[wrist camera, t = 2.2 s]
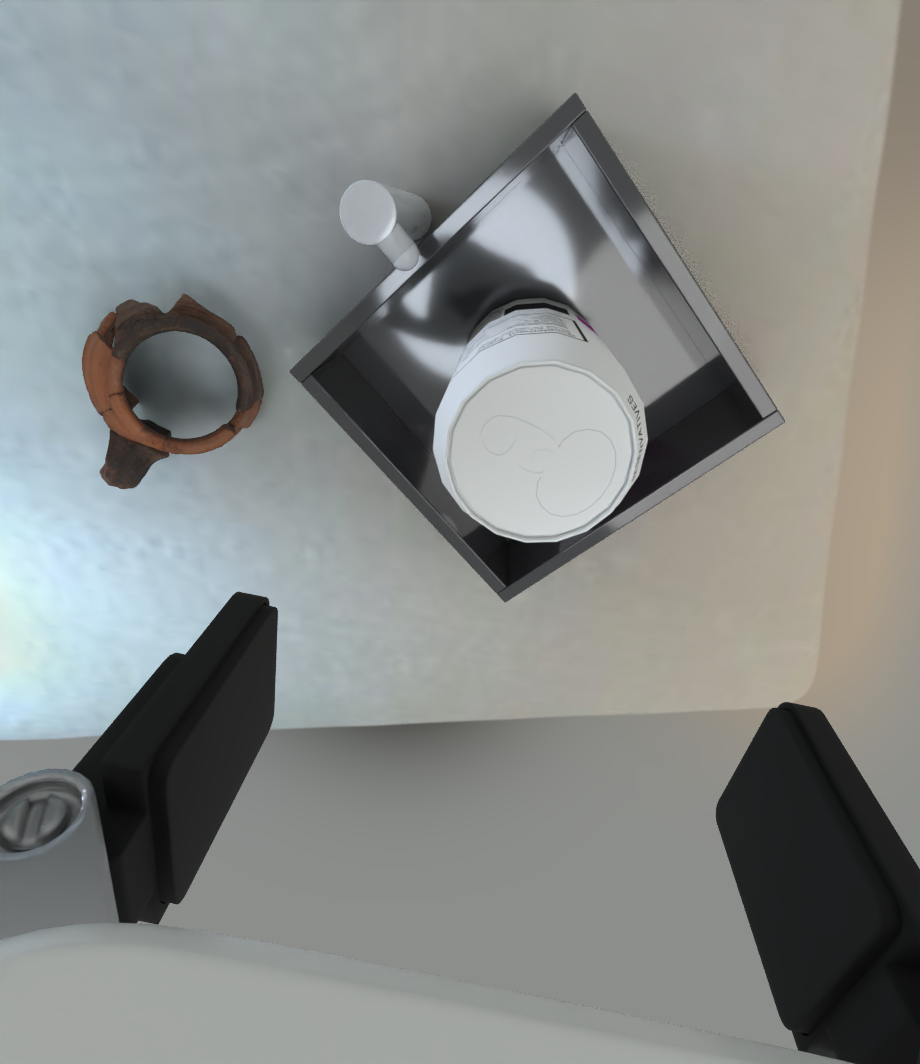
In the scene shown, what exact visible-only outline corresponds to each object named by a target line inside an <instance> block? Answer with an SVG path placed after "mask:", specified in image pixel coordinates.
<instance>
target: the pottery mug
mask: <svg viewBox="0 0 920 1064" xmlns="http://www.w3.org/2000/svg"><path fill="white" fill-rule="evenodd" d="M170 331H180V332H187V333H191V334H194V335H198V336H200V337H202V338H204V339H206V340H208V341H209V342H211V343H212V344H213V345H215V346H216V347H217V348H218V349H219V350H220V351H221V352H222V353H223V354H224V356H225V357H226V358H227V359H228V361H229V363H230V364H231V366H232V368H233V370H234V373H235V376H236V379H237V385H238V398H237V403H236V410H237V411H236V413H235V415H234V417H233V418H232V419H231V420H230V421H229V423H228V424H224V425H222V426H221V427H220V428H219V429H217V430H215V431H214V432H212V433H210V434H208V435H205V436H202V437H198V438H190V439H180V438H174V437H171V432H170V430H168V429H165V428H163V427H161V426H159V425H157V424H155V423H154V422H152V421H150V420H141V419H139V418H138V417H137V416H136V415H135V413H134V412H133V407H135V406H136V405H137V404H138V403H139V400H138V399H137V398H136V397H135V396H134V395H133V394H132V393H130V392H129V391H128V390H127V388H126V387H125V386H124V385H123V375H124V369H125V366H126V363H127V358H128V357H129V355H130V354H131V352H132V351H133V350H134V349H135V348H136V346H137V345H139V344H140V343H141V342H142V341H144V340H145V339H147V338H149V337H151V336H154V335H156V334H159V333H164V332H170ZM114 336H115V342H114V347H112V343H113V339H114ZM82 369H83V376H84V380H85V384H86V388H87V390H88V392H89V396H90V399H91V401H92V403H93V405H94V407H95V408H96V410H97V412H98V413H99V414H100V415H101V416H103V418H104V421H105V422H106V424H107V425H108V427H109V428H110V439H109V446H108V450H107V454H106V459H105V464H104V466H103V467H102V468H101V470H100V474H101V477H102V478H103V479H104V480H105V482H106V483H107V484H108V485H110V486H115V487H118V488H120V489H128V488H134V487H136V486H137V485H138V484H139V483H140V481H141V480H142V478H143V477H144V476H145V475H146V473H147V471H148V470H149V468H150V467H151V465H152V464H153V463H155V462H156V461H158V460H160V459H164V458H167V457H169V453H171V454H200V453H205V452H208V451H212V450H214V449H216V448H219V447H222V446H223V445H224V444H226V443H227V442H228V441H230V440H231V439H232V438H233V437H234V436H235V435H237V434H238V433H239V432H240V430H241V429H242V428H248V427H249V426H250V425H251V424H252V422H253V421H254V419H255V417H256V415H257V413H258V411H259V408H260V405H261V402H262V400H261V399H262V397H263V393H264V390H263V384H262V378H261V375H260V370H259V367H258V364H257V361H256V359H255V356H254V354H253V352H252V350H251V349H250V347H249V345H248V343H247V341H246V340H245V338H244V337H243V336H236V333H235V329H234V328H233V326H232V325H231V324H229V323H228V322H227V321H225V320H224V319H222V318H220V317H219V316H217V315H215V314H214V313H211V312H210V311H208V310H207V309H205V308H204V307H202V306H201V305H200V304H198V303H197V302H196V301H195V300H194V299H192V298H191V297H189V296H188V295H186V294H183V295H182V297H181V298H180V299H179V300H178V301H177V302H176V304H175V305H174V307H173V308H172V309H171V310H170V311H169V312H168V313H163V312H161V311H160V309H159V308H158V307H156V306H153V305H151V304H149V303H138V302H137V301H135V300H132V299H131V300H128V301H126V302H124V303H122V304H120V305H119V306H117V307H116V313H115V312H111V313H109V314H108V315H107V316H106V317H105V318H104V319H103V321H102V322H101V324H100V326H99V328H98V330H97V331H95V332H93V333H92V334H90V335H89V336H88V338H87V341H86V344H85V347H84V351H83V357H82ZM168 452H169V453H168Z"/></svg>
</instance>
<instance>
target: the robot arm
mask: <svg viewBox="0 0 920 1064" xmlns="http://www.w3.org/2000/svg"><path fill="white" fill-rule="evenodd" d="M277 622H278V610H277V608H276V607H272V606H269V600H268V598H267V597H262V596H257V595H252V594H247V593H242V592H236V593H235V594H234V595H233V596H232V597H231V598H230V599H229V601H228V602H227V603H226V604H225V606H224V607H223V608H222V609H221V611H220V612H219V613H218V614H217V616H216V617H215V618H214V619H213V621H212V622H211V623H210V625H209V626H208V627H207V628H206V630H205V631H204V632H203V633H202V635H201V636H200V637H199V638H198V640H197V641H196V642H195V643H194V645H193V646H192V647H191V648H190V650H189V651H188V652H187V653H186V655H185V654H180V653H174V654H172V655H170V656H169V657H168V658H167V659H166V660H165V661H164V662H163V663H162V664H161V665H160V666H159V668H158V669H157V670H156V671H155V672H154V674H153V675H152V676H151V677H150V678H149V680H148V681H147V682H146V683H145V684H144V686H143V687H142V688H141V689H140V690H139V692H138V693H137V694H136V695H135V696H134V698H133V699H132V700H131V701H130V702H129V704H128V705H127V706H126V707H125V708H124V709H123V711H122V712H121V713H120V714H119V715H118V717H117V718H116V719H115V720H114V721H113V723H112V724H111V725H110V726H109V727H108V729H107V730H106V731H105V732H104V733H103V735H102V736H101V737H100V738H99V739H98V741H97V742H96V743H95V744H94V745H93V747H92V748H91V749H90V750H89V751H88V753H87V754H86V755H85V756H84V757H83V758H82V760H81V761H80V762H79V763H78V764H77V766H76V767H75V768H74V769H73V770H72V771H71V770H67V769H45V770H40V771H36V772H31V773H27V774H25V775H23V776H20V777H17V778H15V779H13V780H10V781H8V782H7V783H5V784H4V785H2V786H1V787H0V1064H920V869H919V867H918V866H917V864H916V863H915V861H914V859H913V858H912V856H911V855H910V853H909V851H908V850H907V848H906V846H905V845H904V844H903V842H902V840H901V838H900V837H899V835H898V833H897V832H896V830H895V829H894V827H893V825H892V824H891V822H890V820H889V819H888V817H887V816H886V814H885V812H884V811H883V809H882V808H881V806H880V804H879V803H878V801H877V799H876V798H875V796H874V795H873V793H872V791H871V790H870V788H869V786H868V785H867V783H866V782H865V780H864V778H863V777H862V775H861V773H860V772H859V770H858V769H857V767H856V765H855V764H854V762H853V761H852V759H851V757H850V756H849V754H848V752H847V751H846V749H845V748H844V746H843V745H842V743H841V741H840V739H839V738H838V736H837V735H836V733H835V732H834V730H833V728H832V727H831V725H830V723H829V722H828V720H827V718H826V717H825V715H824V714H823V713H822V712H821V710H819V709H817V708H814V707H809V706H804V705H799V704H794V703H789V702H784V703H782V704H780V705H779V707H778V708H772V709H770V710H769V712H768V713H767V715H766V717H765V718H764V720H763V722H762V724H761V726H760V727H759V729H758V731H757V733H756V735H755V737H754V738H753V740H752V742H751V744H750V746H749V747H748V749H747V751H746V753H745V754H744V756H743V758H742V760H741V762H740V764H739V765H738V767H737V769H736V771H735V772H734V774H733V776H732V778H731V779H730V781H729V783H728V785H727V787H726V789H725V790H724V792H723V794H722V796H721V797H720V799H719V801H718V804H717V808H716V821H717V825H718V828H719V831H720V834H721V837H722V840H723V843H724V846H725V849H726V852H727V856H728V859H729V862H730V865H731V868H732V871H733V874H734V877H735V880H736V883H737V887H738V890H739V893H740V896H741V899H742V902H743V905H744V908H745V911H746V914H747V917H748V921H749V924H750V927H751V930H752V933H753V936H754V939H755V942H756V945H757V948H758V951H759V955H760V957H761V961H762V964H763V967H764V970H765V973H766V976H767V979H768V982H769V985H770V988H771V992H772V995H773V998H774V1001H775V1004H776V1007H777V1010H778V1013H779V1016H780V1018H781V1021H782V1023H783V1024H784V1026H785V1027H786V1028H787V1029H788V1030H792V1033H793V1036H794V1039H795V1042H796V1045H797V1048H798V1050H793V1049H788V1048H783V1047H779V1046H774V1045H769V1044H764V1043H759V1042H755V1041H750V1040H745V1039H740V1038H736V1037H731V1036H726V1035H722V1034H717V1033H712V1032H708V1031H703V1030H698V1029H693V1028H689V1027H684V1026H679V1025H675V1024H670V1023H665V1022H660V1021H656V1020H651V1019H646V1018H641V1017H637V1016H632V1015H627V1014H622V1013H617V1012H612V1011H607V1010H603V1009H598V1008H593V1007H588V1006H583V1005H578V1004H574V1003H569V1002H564V1001H559V1000H554V999H549V998H544V997H540V996H535V995H530V994H524V993H519V992H515V991H510V990H505V989H500V988H496V987H490V986H485V985H481V984H475V983H471V982H466V981H461V980H456V979H451V978H446V977H441V976H436V975H431V974H426V973H421V972H416V971H411V970H406V969H401V968H396V967H391V966H386V965H381V964H376V963H371V962H366V961H361V960H356V959H351V958H346V957H341V956H336V955H331V954H326V953H321V952H316V951H311V950H306V949H301V948H295V947H290V946H284V945H279V944H273V943H267V942H262V941H256V940H251V939H245V938H240V937H234V936H229V935H223V934H218V933H212V932H207V931H201V930H193V929H184V928H177V927H169V926H161V925H153V924H159V922H160V920H161V918H162V916H163V914H164V913H165V911H166V909H167V907H168V905H169V903H173V904H179V903H180V902H181V901H182V899H183V898H184V896H185V895H186V893H187V891H188V889H189V887H190V885H191V883H192V881H193V879H194V877H195V875H196V873H197V871H198V869H199V867H200V865H201V864H202V862H203V859H204V858H205V856H206V854H207V852H208V850H209V848H210V846H211V844H212V842H213V840H214V838H215V836H216V834H217V832H218V830H219V828H220V826H221V824H222V822H223V820H224V818H225V816H226V814H227V812H228V811H229V809H230V807H231V805H232V803H233V800H234V799H235V797H236V795H237V793H238V791H239V789H240V787H241V785H242V783H243V781H244V779H245V777H246V775H247V773H248V771H249V769H250V767H251V766H252V764H253V762H254V760H255V758H256V756H257V754H258V752H259V750H260V748H261V746H262V744H263V742H264V740H265V738H266V736H267V734H268V732H269V730H270V727H271V724H272V721H273V716H274V703H275V676H276V649H277ZM138 921H143V922H148V923H153V924H136V923H137V922H138Z"/></svg>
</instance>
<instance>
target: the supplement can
mask: <svg viewBox="0 0 920 1064" xmlns="http://www.w3.org/2000/svg"><path fill="white" fill-rule="evenodd" d="M647 442H648V437H647V428H646V420H645V412H644V404H643V402H642V400H641V398H640V397H639V395H638V393H637V391H636V389H635V388H634V386H633V384H632V382H631V380H630V379H629V377H628V375H627V373H626V371H625V370H624V369H623V367H622V366H621V365H620V363H619V362H618V361H617V359H616V358H615V357H614V355H613V354H612V353H611V352H610V350H609V349H608V348H607V346H606V345H605V344H604V342H603V341H602V340H601V338H600V337H599V336H598V334H597V333H596V332H595V331H594V329H593V328H592V327H591V325H590V324H589V323H588V322H587V321H586V320H585V319H584V318H583V317H581V316H580V315H579V314H578V313H576V312H575V311H574V310H573V309H571V308H570V307H569V306H568V305H564V304H561V303H558V302H555V301H552V300H548V299H545V298H532V299H518V300H515V301H512V302H510V303H508V304H506V305H504V306H502V307H499V308H497V309H495V310H493V311H492V312H491V313H490V314H489V315H488V316H487V317H486V318H485V319H484V320H483V321H482V322H481V323H480V324H479V325H478V326H477V327H476V328H475V329H474V330H473V332H472V334H471V336H470V338H469V340H468V342H467V345H466V347H465V349H464V351H463V353H462V355H461V358H460V360H459V362H458V365H457V367H456V369H455V371H454V374H453V376H452V378H451V381H450V383H449V385H448V387H447V390H446V392H445V394H444V397H443V399H442V401H441V403H440V406H439V408H438V410H437V413H436V417H435V430H434V442H433V452H434V456H435V459H436V463H437V466H438V470H439V473H440V477H441V480H442V483H443V484H444V486H445V487H446V489H447V490H448V491H449V493H450V494H451V495H452V497H453V498H454V500H455V501H456V502H457V504H458V505H459V506H460V508H461V509H462V510H463V511H464V512H466V513H467V514H469V515H470V517H472V518H473V519H475V520H476V521H478V522H479V523H480V524H482V525H483V526H485V527H486V528H488V529H489V530H491V531H492V532H493V533H495V534H497V535H501V536H504V537H508V538H511V539H515V540H518V541H522V542H525V543H529V542H558V541H560V540H563V539H566V538H569V537H572V536H575V535H578V534H581V533H584V532H586V531H588V530H589V529H591V528H592V527H593V526H595V525H596V524H597V523H599V522H600V521H601V520H603V519H604V518H605V517H607V516H608V515H609V514H611V513H612V512H613V511H614V509H615V508H616V507H617V506H618V505H619V504H620V502H621V501H622V499H623V498H624V496H625V495H626V494H627V492H628V491H629V489H630V488H631V486H632V485H633V483H634V482H635V480H636V479H637V477H638V476H639V473H640V469H641V465H642V461H643V458H644V454H645V450H646V446H647Z"/></svg>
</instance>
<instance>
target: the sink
mask: <svg viewBox="0 0 920 1064" xmlns="http://www.w3.org/2000/svg"><path fill="white" fill-rule="evenodd" d="M579 170H580V171H579ZM531 171H532V172H531ZM581 173H582V174H581ZM583 176H584V177H583ZM585 179H586V180H585ZM587 182H588V183H587ZM589 185H590V186H589ZM591 188H592V189H591ZM511 190H512V191H511ZM593 191H594V192H593ZM595 194H596V195H595ZM597 197H598V198H597ZM491 209H492V210H491ZM339 211H340V219H341V222H342V225H343V227H344V229H345V231H346V232H347V233H348V235H349V236H350V237H351V238H352V239H354V240H355V241H357V242H359V243H361V244H364V245H377V246H378V247H379V249H380V250H381V251H382V252H383V254H384V255H385V256H386V257H387V259H388V260H389V261H390V262H391V263H392V265H393V266H394V267H395V269H394V270H392V271H391V272H390V273H389V274H388V275H387V276H386V277H385V278H384V279H383V280H382V281H381V282H380V283H379V284H378V285H377V286H376V287H375V288H374V289H373V290H372V291H371V292H370V293H369V294H368V295H367V296H366V297H365V298H364V299H363V300H362V301H361V302H360V303H359V304H358V305H357V306H356V307H355V308H354V309H353V310H352V311H350V312H349V313H348V314H347V315H346V316H345V317H344V318H343V319H342V320H341V321H340V322H339V323H338V324H337V325H336V326H335V327H334V328H333V329H332V330H331V331H330V332H329V333H328V334H327V335H326V336H325V337H324V338H323V339H322V340H321V341H320V342H319V343H318V344H317V345H316V346H315V347H314V348H313V349H312V350H311V351H310V352H308V353H307V354H306V355H305V356H304V357H303V358H302V359H301V360H300V361H299V362H298V363H297V364H296V365H295V366H294V367H293V368H292V369H291V370H290V373H291V374H292V375H293V376H294V377H295V378H296V379H297V380H298V381H299V382H300V383H301V384H302V386H303V387H304V388H305V389H306V390H307V391H308V392H309V393H310V394H311V395H312V396H313V397H314V398H315V399H316V401H317V402H318V403H319V404H320V405H321V406H322V407H323V408H324V409H325V410H326V411H327V412H328V413H329V414H330V416H331V417H332V418H333V419H334V420H335V421H336V422H337V423H338V424H339V425H340V426H341V427H342V428H343V429H344V431H345V432H346V433H347V434H348V435H349V436H350V437H351V438H352V439H353V440H354V441H355V442H356V443H357V444H358V446H359V447H360V448H361V449H362V450H363V451H364V452H365V453H366V454H367V455H368V456H369V457H370V458H371V459H372V461H373V462H374V463H375V464H376V465H377V466H378V467H379V468H380V469H381V470H382V471H383V472H384V473H385V474H386V476H387V477H388V478H389V479H390V480H391V481H392V482H393V483H394V484H395V485H396V486H397V487H398V488H399V489H400V491H401V492H402V493H403V494H404V495H405V496H406V497H407V498H408V499H409V500H410V501H411V502H412V503H413V504H414V506H415V507H416V508H417V509H418V510H419V511H420V512H421V513H422V514H423V515H424V516H425V517H426V518H427V519H428V521H429V522H430V523H431V524H432V525H433V526H434V527H435V528H436V529H437V530H438V531H439V532H440V533H441V534H442V536H443V537H444V538H445V539H446V540H447V541H448V542H449V543H450V544H451V545H452V546H453V547H454V548H455V549H456V551H457V552H458V553H459V554H460V555H461V556H462V557H463V558H464V559H465V560H466V561H467V562H468V563H469V564H470V566H471V567H472V568H473V569H474V570H475V571H476V572H477V573H478V574H479V575H480V576H481V577H482V578H483V580H484V581H485V582H486V583H487V584H488V585H489V586H490V587H491V588H492V589H493V590H494V591H495V592H496V593H497V595H498V596H499V597H500V598H501V599H502V600H503V601H504V602H507V601H508V600H510V599H512V598H513V597H515V596H516V595H518V594H519V593H521V592H522V591H524V590H525V589H527V588H529V587H530V586H532V585H533V584H535V583H536V582H538V581H539V580H541V579H543V578H544V577H546V576H547V575H549V574H550V573H552V572H553V571H555V570H556V569H558V568H560V567H561V566H563V565H564V564H566V563H567V562H569V561H570V560H572V559H574V558H575V557H577V556H578V555H580V554H581V553H583V552H584V551H586V550H588V549H589V548H591V547H592V546H594V545H595V544H597V543H598V542H600V541H601V540H603V539H605V538H606V537H608V536H609V535H611V534H612V533H614V532H615V531H617V530H619V529H620V528H622V527H623V526H625V525H626V524H628V523H629V522H631V521H632V520H634V519H636V518H637V517H639V516H640V515H642V514H643V513H645V512H646V511H648V510H650V509H651V508H653V507H654V506H656V505H657V504H659V503H660V502H662V501H663V500H665V499H667V498H668V497H670V496H671V495H673V494H674V493H676V492H677V491H679V490H681V489H682V488H684V487H685V486H687V485H688V484H690V483H691V482H693V481H694V480H696V479H698V478H699V477H701V476H702V475H704V474H705V473H707V472H708V471H710V470H712V469H713V468H715V467H716V466H718V465H719V464H721V463H722V462H724V461H725V460H727V459H729V458H730V457H732V456H733V455H735V454H736V453H738V452H739V451H741V450H743V449H744V448H746V447H747V446H749V445H750V444H752V443H753V442H755V441H756V440H758V439H760V438H761V437H763V436H764V435H766V434H767V433H769V432H770V431H772V430H774V429H775V428H777V427H778V426H780V425H781V424H783V423H784V422H785V420H784V418H783V417H782V415H781V413H780V412H779V410H777V407H776V406H775V404H774V402H773V401H772V399H771V398H770V396H769V395H768V393H767V391H766V390H765V388H764V387H763V385H762V384H761V382H760V380H759V379H758V377H757V376H756V374H755V373H754V371H753V369H752V368H751V366H750V365H749V363H748V362H747V360H746V358H745V357H744V355H743V354H742V352H741V351H740V349H739V347H738V346H737V344H736V343H735V341H734V340H733V338H732V337H731V335H730V333H729V332H728V330H727V329H726V327H725V326H724V324H723V322H722V321H721V319H720V318H719V316H718V315H717V313H716V311H715V310H714V308H713V307H712V305H711V304H710V302H709V300H708V299H707V297H706V296H705V294H704V293H703V291H702V289H701V288H700V286H699V285H698V283H697V282H696V280H695V278H694V277H693V275H692V274H691V272H690V271H689V269H688V267H687V266H686V264H685V263H684V261H683V260H682V258H681V256H680V255H679V253H678V252H677V250H676V249H675V247H674V245H673V244H672V242H671V241H670V239H669V238H668V236H667V234H666V233H665V231H664V230H663V228H662V227H661V225H660V224H659V222H658V220H657V219H656V217H655V216H654V214H653V213H652V211H651V209H650V208H649V206H648V205H647V203H646V202H645V200H644V198H643V197H642V195H641V194H640V192H639V191H638V189H637V187H636V186H635V184H634V183H633V181H632V180H631V178H630V176H629V175H628V173H627V172H626V170H625V169H624V167H623V165H622V164H621V162H620V161H619V159H618V158H617V156H616V154H615V153H614V151H613V150H612V148H611V147H610V145H609V143H608V142H607V140H606V139H605V137H604V136H603V134H602V132H601V131H600V129H599V128H598V126H597V125H596V123H595V121H594V120H593V118H592V117H591V115H590V114H589V112H588V111H586V107H585V106H584V104H583V103H582V101H581V100H580V98H579V96H578V95H577V93H574V94H573V95H572V96H571V97H570V98H569V99H568V100H567V101H566V102H565V103H564V104H563V105H561V106H560V107H559V108H558V109H557V110H556V111H555V112H554V113H553V114H552V115H551V116H550V117H549V118H548V119H547V120H546V121H545V122H544V123H543V124H542V125H541V126H540V127H539V128H538V129H537V130H536V131H535V132H534V133H533V134H532V135H531V136H530V137H529V138H528V139H527V140H526V141H525V142H524V143H523V144H522V145H521V146H519V147H518V148H517V149H516V150H515V151H514V152H513V153H512V154H511V155H510V156H509V157H508V158H507V159H506V160H505V161H504V162H503V163H502V164H501V165H500V166H499V167H498V168H497V169H496V170H495V171H494V172H493V173H492V174H491V175H490V176H489V177H488V178H487V179H486V180H485V181H484V182H483V183H482V184H481V185H480V186H479V187H477V188H476V189H475V190H474V191H473V192H472V193H471V194H470V195H469V196H468V197H467V198H466V199H465V200H464V201H463V202H462V203H461V204H460V205H459V206H458V207H457V208H456V209H455V210H454V211H453V212H452V213H451V214H450V215H449V216H448V217H447V218H446V219H445V220H444V221H443V222H442V223H441V224H440V225H439V226H438V227H437V228H436V229H434V230H433V231H432V232H431V233H430V234H429V235H428V236H427V237H426V238H425V239H424V240H423V241H422V242H421V243H420V244H419V245H418V246H416V244H415V243H414V241H413V240H417V239H420V238H421V237H423V236H424V235H425V234H426V233H427V232H428V230H429V228H430V225H431V220H432V216H431V210H430V207H429V205H428V204H427V202H426V201H425V200H424V199H423V198H422V197H420V196H418V195H415V194H412V193H409V192H406V191H403V190H400V189H397V188H394V187H391V186H388V185H385V184H382V183H379V182H376V181H373V180H359V181H356V182H354V183H353V184H351V185H350V186H349V187H348V188H347V189H346V190H345V192H344V194H343V196H342V198H341V202H340V210H339ZM452 246H453V247H452ZM432 265H433V266H432ZM644 268H645V269H644ZM646 271H647V272H646ZM648 274H649V275H648ZM650 277H651V278H650ZM652 280H653V281H652ZM654 283H655V284H654ZM656 286H657V287H656ZM658 289H659V290H658ZM660 292H661V293H660ZM532 298H545V299H548V300H552V301H555V302H558V303H561V304H564V305H568V306H569V307H570V308H571V309H573V310H574V311H575V312H576V313H578V314H579V315H580V316H581V317H583V318H584V319H585V320H586V321H587V322H588V323H589V324H590V325H591V327H592V328H593V329H594V331H595V332H596V333H597V334H598V336H599V337H600V338H601V340H602V341H603V342H604V344H605V345H606V346H607V348H608V349H609V350H610V352H611V353H612V354H613V355H614V357H615V358H616V359H617V361H618V362H619V363H620V365H621V366H622V367H623V369H624V370H625V371H626V373H627V375H628V377H629V379H630V380H631V382H632V384H633V386H634V388H635V389H636V391H637V393H638V395H639V397H640V398H641V400H642V402H643V404H644V412H645V420H646V428H647V437H648V442H647V446H646V450H645V454H644V458H643V461H642V465H641V469H640V473H639V476H638V477H637V479H636V480H635V482H634V483H633V485H632V486H631V488H630V489H629V491H628V492H627V494H626V495H625V496H624V498H623V499H622V501H621V502H620V504H619V505H618V506H617V507H616V508H615V509H614V511H613V512H612V513H611V514H609V515H608V516H607V517H605V518H604V519H603V520H601V521H600V522H599V523H597V524H596V525H595V526H593V527H592V528H591V529H589V530H588V531H586V532H584V533H581V534H578V535H575V536H572V537H569V538H566V539H563V540H560V541H558V542H529V543H525V542H522V541H518V540H515V539H511V538H508V537H504V536H501V535H497V534H495V533H493V532H492V531H491V530H489V529H488V528H486V527H485V526H483V525H482V524H480V523H479V522H478V521H476V520H475V519H473V518H472V517H470V515H469V514H467V513H466V512H464V511H463V510H462V509H461V508H460V506H459V505H458V504H457V502H456V501H455V500H454V498H453V497H452V495H451V494H450V493H449V491H448V490H447V489H446V487H445V486H444V484H443V483H442V480H441V477H440V473H439V470H438V466H437V463H436V459H435V456H434V452H433V442H434V430H435V417H436V413H437V410H438V408H439V406H440V403H441V401H442V399H443V397H444V394H445V392H446V390H447V387H448V385H449V383H450V381H451V378H452V376H453V374H454V371H455V369H456V367H457V365H458V362H459V360H460V358H461V355H462V353H463V351H464V349H465V347H466V345H467V342H468V340H469V338H470V336H471V334H472V332H473V330H474V329H475V328H476V327H477V326H478V325H479V324H480V323H481V322H482V321H483V320H484V319H485V318H486V317H487V316H488V315H489V314H490V313H491V312H492V311H493V310H495V309H497V308H499V307H502V306H504V305H506V304H508V303H510V302H512V301H515V300H518V299H532ZM393 302H394V303H393ZM373 321H374V322H373ZM353 340H354V341H353ZM341 352H342V353H341ZM347 359H348V360H349V361H350V362H349V361H348V360H347ZM709 366H710V367H709ZM355 368H356V369H357V370H358V371H357V370H356V369H355ZM711 369H712V370H711ZM713 372H714V373H713ZM715 375H716V376H715ZM363 377H364V378H365V379H366V380H365V379H364V378H363ZM717 378H718V379H717ZM719 381H720V382H719ZM721 384H722V385H721ZM371 386H372V387H373V388H374V389H373V388H372V387H371ZM723 387H724V388H723ZM725 390H726V391H725ZM722 392H723V393H722ZM719 394H720V395H719ZM379 395H380V396H381V397H382V398H381V397H380V396H379ZM716 396H717V397H716ZM712 399H713V400H712ZM709 401H710V402H709ZM706 403H707V404H706ZM387 404H388V405H389V406H390V407H389V406H388V405H387ZM703 405H704V406H703ZM699 408H700V409H699ZM696 410H697V411H696ZM693 412H694V413H693ZM395 413H396V414H397V415H398V416H397V415H396V414H395ZM690 414H691V415H690ZM686 417H687V418H686ZM683 419H684V420H683ZM680 421H681V422H680ZM403 422H404V423H405V424H406V425H405V424H404V423H403ZM677 423H678V424H677ZM674 425H675V426H674ZM670 428H671V429H670ZM667 430H668V431H667ZM411 431H412V432H413V433H414V434H413V433H412V432H411ZM664 432H665V433H664ZM661 434H662V435H661ZM657 437H658V438H657ZM654 439H655V440H654ZM419 440H420V441H421V442H422V443H421V442H420V441H419ZM651 441H652V442H651ZM648 443H649V444H648ZM427 449H428V450H429V451H430V452H429V451H428V450H427ZM507 539H508V540H507ZM509 539H510V540H509Z"/></svg>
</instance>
